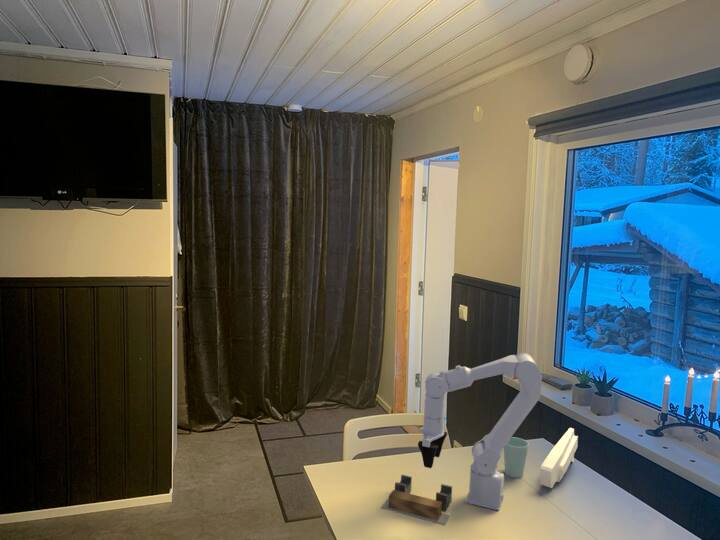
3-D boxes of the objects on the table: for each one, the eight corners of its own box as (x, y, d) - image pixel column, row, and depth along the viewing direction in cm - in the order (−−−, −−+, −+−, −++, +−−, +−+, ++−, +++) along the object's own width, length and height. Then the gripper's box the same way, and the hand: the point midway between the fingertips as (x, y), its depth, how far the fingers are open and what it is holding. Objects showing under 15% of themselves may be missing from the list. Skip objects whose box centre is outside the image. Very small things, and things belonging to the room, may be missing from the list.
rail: (441, 514, 145) (442, 501, 145) (438, 520, 142) (438, 508, 142) (392, 501, 151) (393, 489, 151) (388, 507, 148) (388, 495, 148)
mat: (449, 515, 145) (449, 514, 145) (445, 525, 141) (445, 524, 141) (387, 499, 153) (387, 498, 153) (380, 508, 148) (381, 507, 148)
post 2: (451, 501, 153) (452, 486, 152) (445, 511, 147) (446, 496, 147) (441, 498, 154) (441, 483, 154) (435, 509, 149) (436, 493, 148)
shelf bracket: (580, 463, 180) (580, 430, 177) (555, 508, 161) (555, 471, 158) (563, 458, 183) (563, 426, 180) (536, 501, 165) (536, 465, 161)
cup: (521, 468, 175) (523, 437, 174) (530, 479, 167) (532, 447, 166) (498, 467, 175) (500, 436, 174) (506, 479, 167) (508, 447, 166)
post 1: (411, 491, 158) (411, 476, 157) (404, 501, 152) (405, 485, 152) (401, 489, 159) (402, 474, 158) (394, 498, 153) (394, 483, 153)
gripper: (428, 405, 162) (425, 449, 164) (412, 421, 149) (410, 468, 150) (451, 409, 159) (448, 454, 161) (437, 426, 146) (435, 474, 147)
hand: (431, 461), depth 155 cm, fingers open, 7 cm apart
